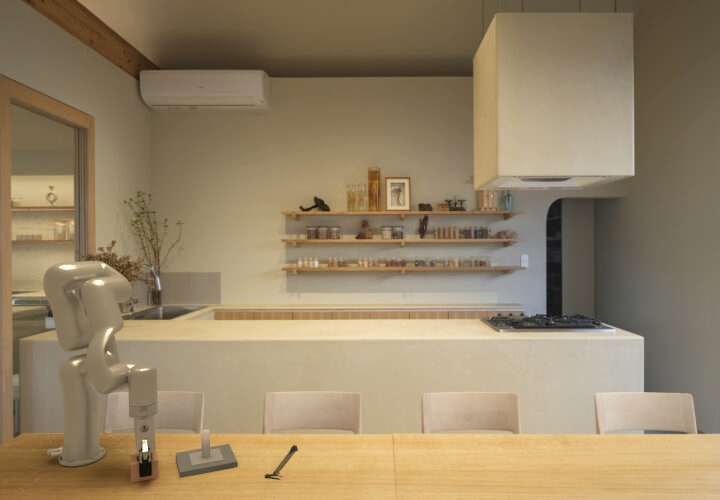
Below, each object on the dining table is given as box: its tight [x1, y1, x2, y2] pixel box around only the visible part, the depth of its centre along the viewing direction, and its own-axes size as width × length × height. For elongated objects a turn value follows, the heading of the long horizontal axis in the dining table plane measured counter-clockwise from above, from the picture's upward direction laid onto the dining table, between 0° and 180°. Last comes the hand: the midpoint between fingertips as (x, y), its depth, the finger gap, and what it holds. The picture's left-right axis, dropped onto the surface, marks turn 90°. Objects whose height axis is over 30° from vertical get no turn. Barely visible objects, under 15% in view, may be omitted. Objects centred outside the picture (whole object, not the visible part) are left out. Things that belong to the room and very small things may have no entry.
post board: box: [175, 428, 239, 478], centre depth 153 cm, size 16×14×10 cm
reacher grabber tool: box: [264, 444, 298, 481], centre depth 152 cm, size 21×7×1 cm, turn 165°
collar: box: [130, 450, 159, 483], centre depth 145 cm, size 7×7×5 cm
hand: (145, 468), depth 145 cm, fingers open, 9 cm apart
